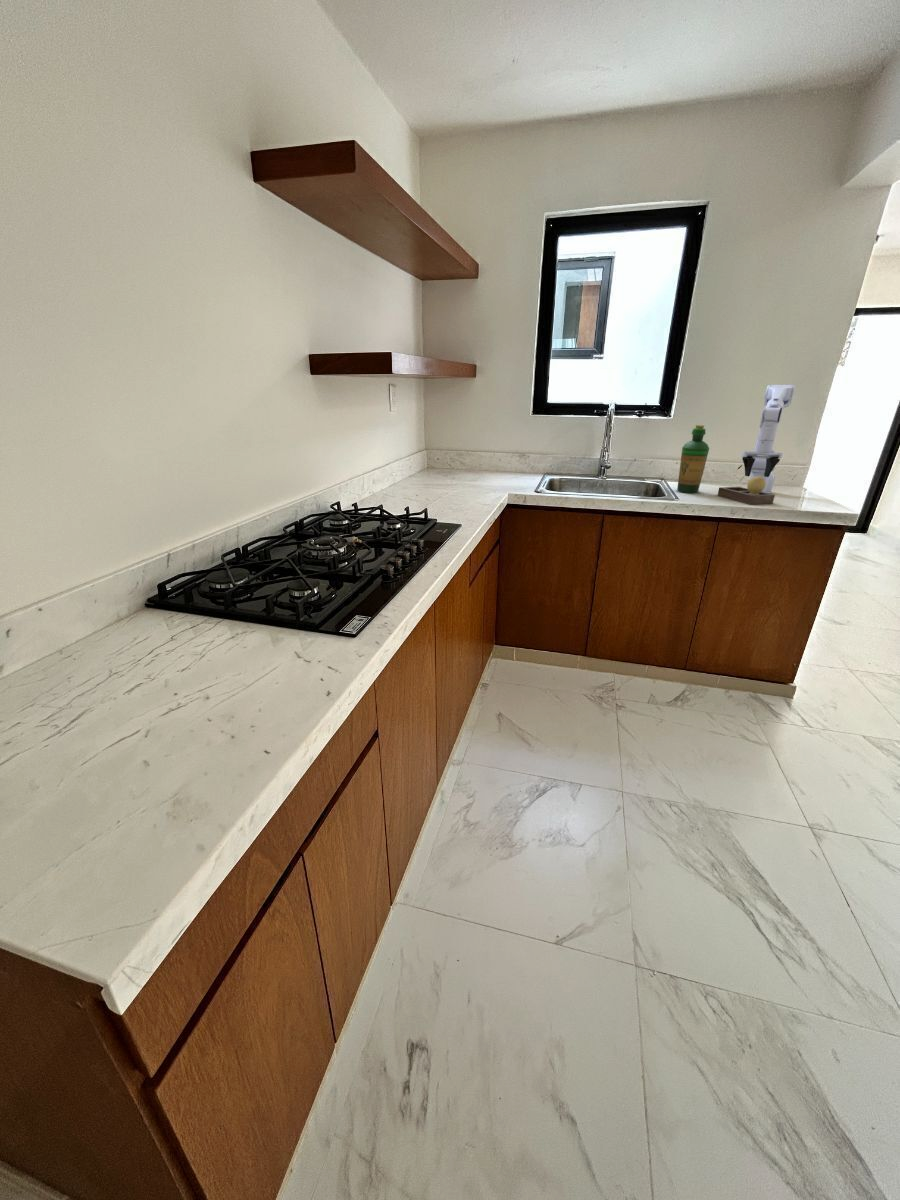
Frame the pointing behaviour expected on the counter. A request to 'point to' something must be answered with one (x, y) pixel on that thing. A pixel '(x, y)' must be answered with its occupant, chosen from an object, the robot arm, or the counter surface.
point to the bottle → (693, 462)
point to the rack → (745, 495)
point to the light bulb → (756, 485)
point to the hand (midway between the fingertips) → (756, 476)
